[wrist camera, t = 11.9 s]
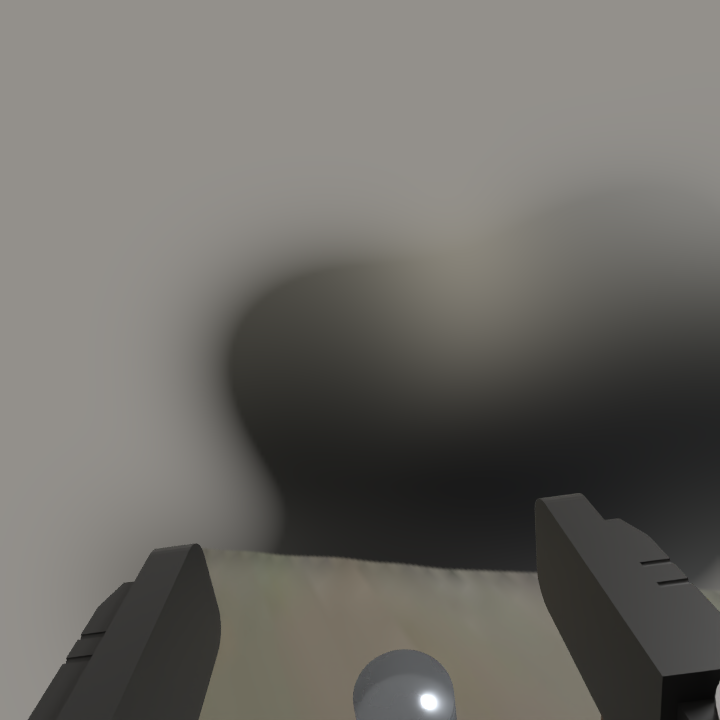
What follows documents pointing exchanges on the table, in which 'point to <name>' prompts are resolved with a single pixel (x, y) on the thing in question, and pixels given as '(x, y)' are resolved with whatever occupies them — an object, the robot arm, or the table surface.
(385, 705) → the canister
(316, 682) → the table surface
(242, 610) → the table surface
